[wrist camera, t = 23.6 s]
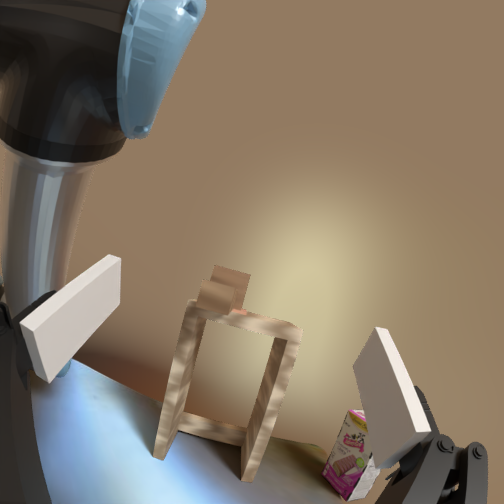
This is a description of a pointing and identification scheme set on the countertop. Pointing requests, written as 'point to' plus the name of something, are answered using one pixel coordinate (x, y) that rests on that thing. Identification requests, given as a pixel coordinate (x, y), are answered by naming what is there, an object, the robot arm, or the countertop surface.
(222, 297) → the mallet
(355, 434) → the candy bar box
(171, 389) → the wooden open frame
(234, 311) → the mat
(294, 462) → the countertop surface
